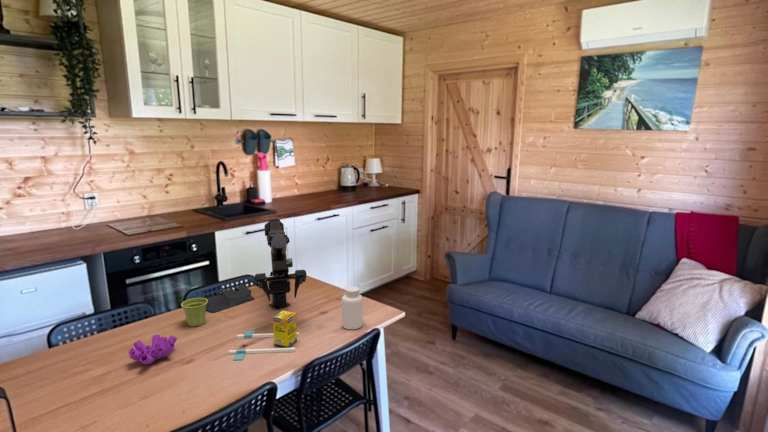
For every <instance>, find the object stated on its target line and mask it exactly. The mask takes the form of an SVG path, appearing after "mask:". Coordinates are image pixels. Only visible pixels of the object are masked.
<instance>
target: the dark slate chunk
mask: <svg viewBox="0 0 768 432" xmlns="http://www.w3.org/2000/svg"><path fill="white" fill-rule="evenodd" d="M251 293H252V290H251V289H250V288H248V287H246V286H245V284H241V285H239V286H235V287H234V289H233V288H228V289H227V290H226V289H225V290H221V294H216V295H214V296H213V295H212V296H211V297H208V298H206V299H207V300H208V302H207V305H206V311H207V312H209V313H211V314H212V313H213V314H216V313H220V312H221V311H225V310H228V309H232V308H234V307H236V306H237V307H238V306H240V305H243V304H246V303H248V302H252V301H254V300H255V297H253V296H252V295H251Z"/></svg>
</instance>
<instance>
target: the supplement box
mask: <svg viewBox="0 0 768 432" xmlns="http://www.w3.org/2000/svg"><path fill="white" fill-rule="evenodd" d="M272 325H273V333H274V337H273V346H274V347H278V348H291V347H292V345H294V344H295V343H297V341H298V336H297V332H298V331H297V330H298V329H297V313H296V312H292V311H287V310H281V311H280V312H279V313H277V314H276V315H274V316H273V317H272Z"/></svg>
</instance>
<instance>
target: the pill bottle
mask: <svg viewBox="0 0 768 432" xmlns="http://www.w3.org/2000/svg"><path fill="white" fill-rule="evenodd" d="M363 305H364V303H363V296H362V295H361V294H360V288H359V287H358V286H348V287H345V293H344V295H342V297H341V324H342V325H341V326H342V327H343V328H344V329H346V330H357V329H360V328H362V327H363V323H364V322H363V319H364V318H363V310H364V309H363V307H364V306H363Z"/></svg>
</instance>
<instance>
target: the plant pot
mask: <svg viewBox="0 0 768 432" xmlns="http://www.w3.org/2000/svg"><path fill="white" fill-rule="evenodd" d="M207 302H208V300H207V298H204V297H193V298H190V299H186V300H184V301H182V302H181V304H180V306H181V308H182V310H183V311H184V313H185V318H186V321H187V325H188V326H189V327H197V326H198V327H199V326H201V325H204V324H205V322H206V311H207V310H206V305H207Z"/></svg>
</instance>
